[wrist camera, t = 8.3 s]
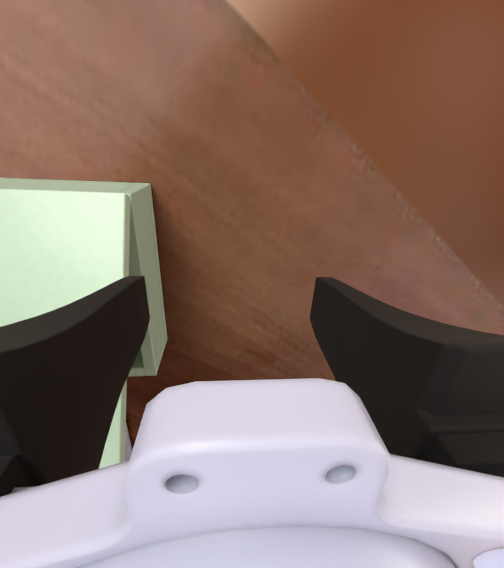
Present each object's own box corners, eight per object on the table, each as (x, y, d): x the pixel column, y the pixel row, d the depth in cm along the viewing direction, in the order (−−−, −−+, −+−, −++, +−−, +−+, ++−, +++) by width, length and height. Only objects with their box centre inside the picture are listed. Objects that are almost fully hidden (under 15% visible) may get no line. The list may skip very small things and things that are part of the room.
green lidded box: (167, 338, 24) (156, 376, 20) (21, 340, 23) (-20, 380, 19) (150, 183, 18) (130, 193, 14) (-43, 176, 17) (-121, 185, 13)
